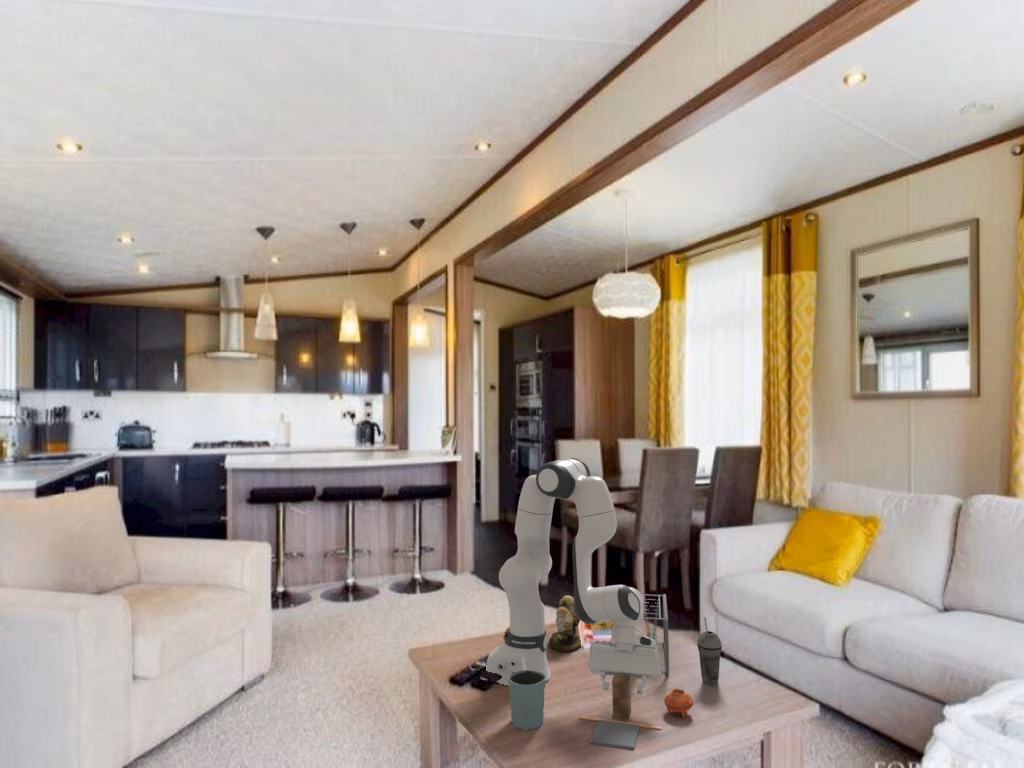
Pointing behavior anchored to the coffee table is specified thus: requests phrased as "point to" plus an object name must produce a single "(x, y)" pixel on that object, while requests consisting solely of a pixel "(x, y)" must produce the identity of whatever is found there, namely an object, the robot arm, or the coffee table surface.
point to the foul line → (620, 722)
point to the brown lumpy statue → (566, 628)
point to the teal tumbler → (527, 698)
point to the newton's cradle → (653, 634)
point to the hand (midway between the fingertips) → (622, 691)
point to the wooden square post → (621, 696)
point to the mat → (615, 734)
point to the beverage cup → (709, 656)
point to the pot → (678, 701)
